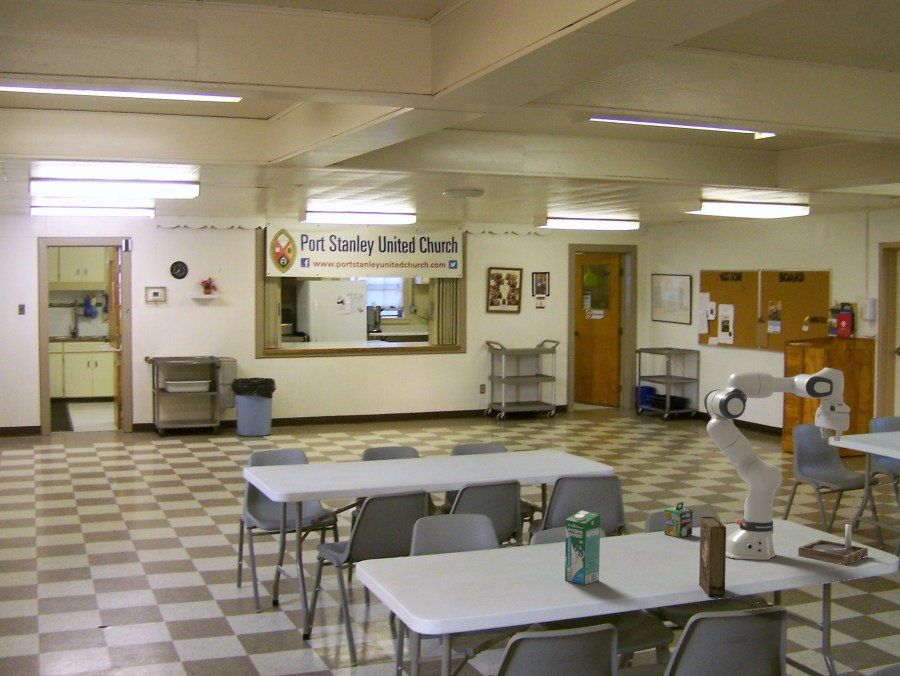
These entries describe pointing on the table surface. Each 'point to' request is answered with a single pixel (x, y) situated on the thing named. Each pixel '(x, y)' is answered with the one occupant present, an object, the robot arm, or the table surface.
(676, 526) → the chalk box
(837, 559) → the dial housing
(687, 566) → the table surface
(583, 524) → the milk carton
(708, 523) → the book
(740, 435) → the robot arm
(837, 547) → the dial
